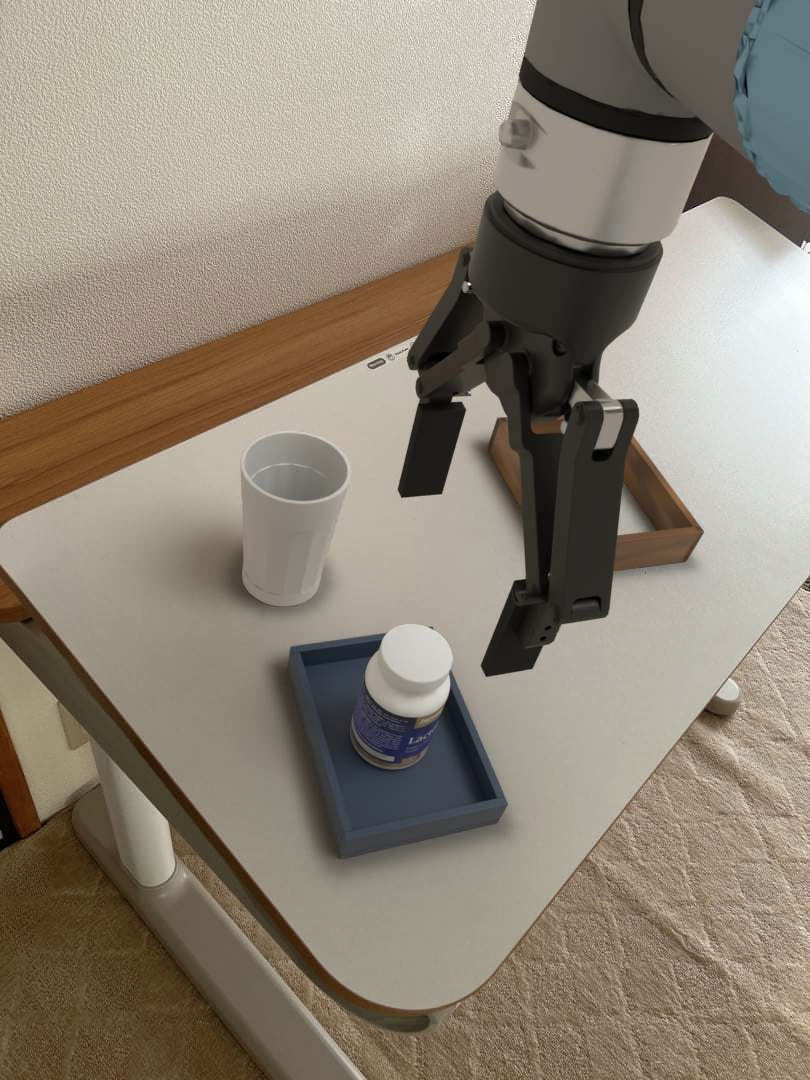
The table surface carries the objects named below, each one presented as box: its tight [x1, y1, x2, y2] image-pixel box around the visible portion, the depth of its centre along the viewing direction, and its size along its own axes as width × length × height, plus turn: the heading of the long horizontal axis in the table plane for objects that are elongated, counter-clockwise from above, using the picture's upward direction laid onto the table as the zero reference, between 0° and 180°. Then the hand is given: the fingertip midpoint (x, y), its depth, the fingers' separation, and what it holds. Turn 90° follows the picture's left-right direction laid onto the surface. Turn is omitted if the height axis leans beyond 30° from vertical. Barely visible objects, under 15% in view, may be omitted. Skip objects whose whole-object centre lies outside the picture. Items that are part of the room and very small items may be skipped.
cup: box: [239, 429, 352, 607], centre depth 68 cm, size 8×8×12 cm
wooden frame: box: [486, 415, 705, 572], centre depth 85 cm, size 18×14×4 cm
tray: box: [286, 626, 509, 860], centre depth 62 cm, size 15×11×3 cm
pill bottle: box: [350, 623, 454, 770], centre depth 59 cm, size 6×6×10 cm
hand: (459, 572), depth 50 cm, fingers open, 13 cm apart
